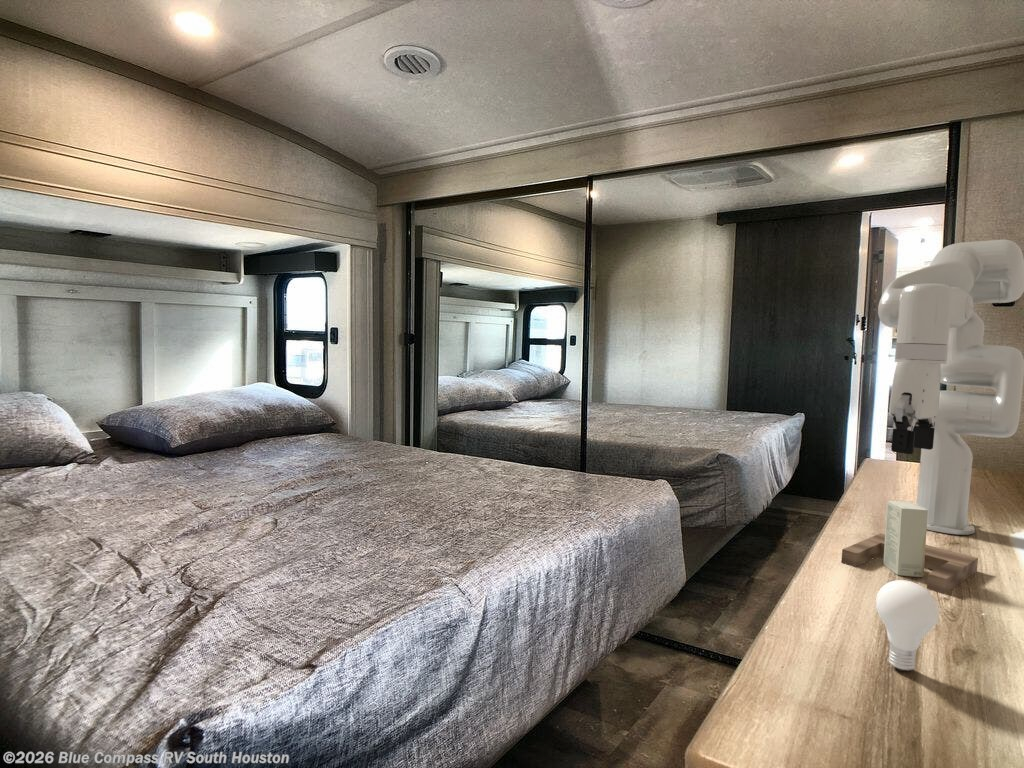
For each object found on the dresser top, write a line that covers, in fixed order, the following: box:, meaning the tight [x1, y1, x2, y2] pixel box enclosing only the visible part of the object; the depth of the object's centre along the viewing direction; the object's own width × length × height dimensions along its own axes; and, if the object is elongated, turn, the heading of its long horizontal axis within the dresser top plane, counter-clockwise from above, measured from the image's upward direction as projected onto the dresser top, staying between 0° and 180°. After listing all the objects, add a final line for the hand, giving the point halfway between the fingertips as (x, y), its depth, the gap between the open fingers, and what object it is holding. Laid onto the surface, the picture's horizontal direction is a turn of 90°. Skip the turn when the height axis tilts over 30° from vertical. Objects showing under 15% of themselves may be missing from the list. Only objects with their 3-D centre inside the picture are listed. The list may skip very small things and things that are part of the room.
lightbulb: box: [875, 579, 940, 672], centre depth 70 cm, size 6×6×11 cm
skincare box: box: [883, 499, 928, 578], centre depth 104 cm, size 6×4×12 cm
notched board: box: [840, 532, 979, 594], centre depth 106 cm, size 18×16×2 cm
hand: (912, 450), depth 103 cm, fingers open, 9 cm apart
